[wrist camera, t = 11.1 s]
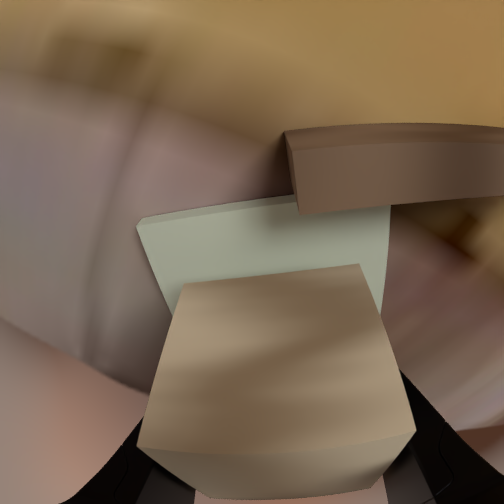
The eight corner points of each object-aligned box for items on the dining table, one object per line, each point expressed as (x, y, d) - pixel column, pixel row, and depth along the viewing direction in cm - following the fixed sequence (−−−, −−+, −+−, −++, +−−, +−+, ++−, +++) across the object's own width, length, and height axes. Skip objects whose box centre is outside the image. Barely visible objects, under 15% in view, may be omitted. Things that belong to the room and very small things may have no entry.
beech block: (359, 263, 8) (416, 430, 4) (349, 368, 11) (370, 487, 7) (183, 283, 9) (136, 446, 4) (222, 379, 11) (209, 497, 7)
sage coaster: (384, 184, 9) (390, 192, 8) (369, 348, 13) (372, 358, 13) (141, 218, 10) (136, 226, 9) (203, 366, 14) (201, 375, 13)
